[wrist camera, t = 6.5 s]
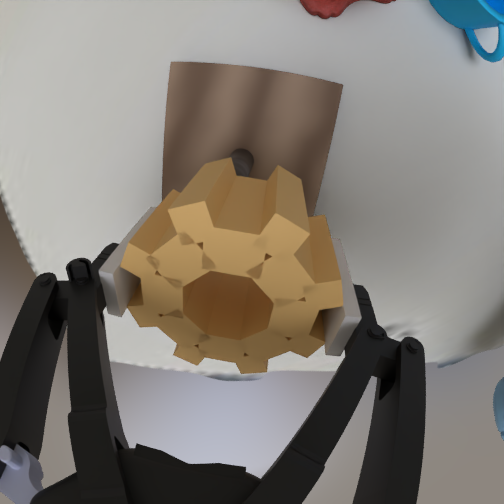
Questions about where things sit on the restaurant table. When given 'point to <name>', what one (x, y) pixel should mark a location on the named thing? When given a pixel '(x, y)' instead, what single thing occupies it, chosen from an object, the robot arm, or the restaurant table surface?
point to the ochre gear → (235, 269)
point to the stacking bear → (330, 6)
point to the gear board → (247, 123)
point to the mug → (475, 20)
